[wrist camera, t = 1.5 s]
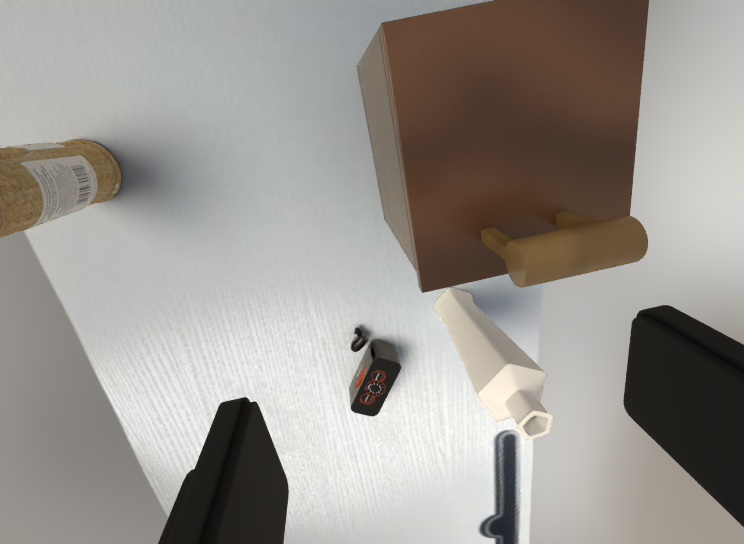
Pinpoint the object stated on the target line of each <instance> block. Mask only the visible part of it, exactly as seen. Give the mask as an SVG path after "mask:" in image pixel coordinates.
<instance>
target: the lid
mask: <svg viewBox="0 0 744 544" xmlns="http://www.w3.org/2000/svg"><path fill="white" fill-rule="evenodd" d="M648 5H649V0H493V1H488V2H483V3H478V4H473V5H468V6H463V7H458V8H453V9H448V10H443V11H438V12H433V13H428V14H423V15H418V16H413V17H408V18H403V19H398V20H393V21H388V22H383V23H381V25H380V27H379V33H380V39H381V46H382V52H383V59H384V65H385V72H386V78H387V84H388V91H389V97H390V104H391V110H392V117H393V123H394V130H395V136H396V142H397V149H398V155H399V162H400V168H401V175H402V181H403V188H404V194H405V200H406V207H407V213H408V220H409V226H410V233H411V239H412V246H413V252H414V258H415V265H416V271H417V278H418V284H419V288H420V290H421V291H422V293H424V292H428V291H433V290H437V289H442V288H446V287H451V286H455V285H459V284H464V283H468V282H473V281H477V280H482V279H486V278H490V277H495V276H499V275H504V274H508V273H509V276H510V278H511V280H512V281H513V283H514V284H515V285H516V286H518V287H521V288H523V287H528V286H532V285H536V284H541V283H545V282H550V281H554V280H558V279H563V278H567V277H571V276H576V275H580V274H585V273H589V272H593V271H598V270H602V269H607V268H611V267H616V266H620V265H624V264H629V263H633V262H637V261H639V260H640V259H642V258H643V256H644V255H645V254H646V251H647V247H648V239H647V234H646V231H645V229H644V227H643V225H642V224H641V223H640V222H639V221H638V220H637V219H636V218H634V217H631V216H630V206H631V196H632V184H633V173H634V162H635V151H636V139H637V129H638V117H639V105H640V95H641V83H642V71H643V61H644V50H645V39H646V27H647V16H648Z"/></svg>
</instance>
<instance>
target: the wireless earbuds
mask: <svg viewBox="0 0 744 544" xmlns="http://www.w3.org/2000/svg"><path fill="white" fill-rule="evenodd" d="M354 334H357V337H356V338H355V339H354V340H353V341H352V343H351V350H352V351H354V352H357V351H359V350H360V349H361V348H362V347H363V346H364V345H365V344H366V343H367V342H368V340H369V338H368V336H367V335H366V334H365V333H363V330H361V329H360V328H356V329H355V332H354ZM400 370H401V365H400V362H399V358H398V355H397V352H396V349H395V347H394V346H392V345H389V344H386V343H383V342H379V341H372V342H370V344H369V346H368V348H367V350H366V352H365V354H364V356H363V359H362V361H361V363H360V365H359V367H358V369H357V372H356V374H355V376H354V378H353V380H352V382H351V384H350V387H349V392H350V404H351V410H352V411H353V412H355V413H359V414H363V415H367V416H375V415H377V414H378V413H379V411H380V409H381V407H382V405H383V403H384V401H385V399H386V397H387V395H388V393H389V391H390V389H391V388H392V386H393V384H394V382H395V380H396V378H397V376H398V374H399V372H400Z"/></svg>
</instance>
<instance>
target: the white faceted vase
mask: <svg viewBox="0 0 744 544" xmlns="http://www.w3.org/2000/svg"><path fill="white" fill-rule="evenodd" d="M432 307H433V309H434V310H435V312H436V313H437V315H438V316H439V317H440V319H441V320H442V322H443V323H444V324H446V327H447V329H448V331H449V333H450V335H451V338H452V340H453V342H454V344H455V347H456V349H457V351H458V353H459V356H460V358H461V360H462V362H463V364H464V367H465V369H466V371H467V373H468V376H469V378H470V380H471V382H472V385H473V387H474V389H475V391H476V393H477V396H478V398H479V399H480V401H481V402H482V403H483V405H484V406H485V407H486V409H487V410H488V411H489V413H490V414H491V415H492V417H493V418H494V419H495V420H496V421H502V420H505V419H508V418H511V417H513V418H514V420H515V421H516V423H517V429H518V430H519V432H520V433H521V434H522V436H523V437H524V438H525V439H526V440H529V439H533V438H536V437H539V436H542V435H545V434H547V433H548V432H549V431H550V428H551V424H552V420H553V415H552V414H550V413H547V411H545V409H544V407H543V406H542V405H541V404H540V400H541V396H542V392H543V388H544V384H545V380H546V373H545V372H544V371H543V370H542V369H541V368H540V367H539V366H538V365H537V364H536V363H535V362H534V361H533V360H532V359H531V358H530V357H529V356H528V355H527V354H526V353H525V352H524V351H523V350H521V349H520V348H519V347H518V346H517V345H516V344H515V343H514V342H513V341H512V340H511V339H510V338H509V337H508V336H507V335H506V334H505V333H504V332H503V331H502V330H501V329H500V328H499V327H498V326H497V325H496V324H495V323H494V322H492V321H491V320H490V319H489V318H488V317H487V316H486V315H485V314H484V313H483V312H482V311H481V310H480V309H479V308H478V307H477V306H476V305H475V304H474V301H473V297H472V294H471V293H469V292H466V291H462V290H459V289H455V288H452V287H449V288H447V289H446V290H445V292H444V293H443V294H442V295H441V296H440V297H439V298H438V300H437V301H436V302H435V303H434V304H433V306H432Z"/></svg>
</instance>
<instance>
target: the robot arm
mask: <svg viewBox="0 0 744 544" xmlns="http://www.w3.org/2000/svg"><path fill="white" fill-rule="evenodd" d="M624 407H625V409H626V412H627V413H628V415H629V416H630V417H631V418H632V419H633V420H634V421H635V422H636V423H637V424H638V425H639V426H640V427H641V428H642V429H643V430H644V431H645V432H646V433H647V434H648V435H649V436H651V437H652V438H653V439H654V440H655V441H656V442H657V443H658V444H659V445H660V446H661V447H662V448H663V449H664V450H665V451H666V452H667V453H668V454H669V455H670V456H671V457H672V458H673V459H674V460H675V461H676V462H677V463H678V464H679V465H680V466H681V467H682V468H684V470H685V471H687V473H689V474H690V475H691V476H692V477H693V478H694V479H695V480H696V481H697V482H698V483H699V484H700V485H701V486H702V487H703V488H704V489H705V490H706V491H707V492H708V493H709V494H710V495H711V496H712V497H713V498H714V499H716V501H717V502H718V503H720V504H721V505H722V506H723V507H724V508H725V509H726V510H727V511H728V512H729V513H730V514H731V515H732V516H733V517H734V518H735V519H736V520H737V521H738V522H739V523H740V524H741V525H742V526H743V527H744V345H743V344H741V343H739V342H737V341H735V340H734V339H732V338H730V337H728V336H726V335H724V334H722V333H720V332H718V331H717V330H714V329H713V328H711V327H709V326H707V325H705V324H704V323H701V322H700V321H698V320H696V319H694V318H692V317H690V316H688V315H687V314H685V313H683V312H681V311H679V310H677V309H675V308H673V307H671V306H668V305H662V306H658V307H653V308H649V309H645V310H641V311H639V313H638V314H637V317H636V318H634V320H633V321H632V327H631V337H630V346H629V355H628V364H627V373H626V383H625V393H624ZM288 493H289V491H288V482H287V478H286V475H285V473H284V470H283V468H282V465H281V462H280V460H279V457H278V455H277V452H276V449H275V447H274V444H273V442H272V439H271V436H270V434H269V431H268V429H267V426H266V424H265V421H264V418H263V416H262V413H261V411H260V408H259V406H258V404H257V402H250V401H249V399H248V398H246V397H244V398H239V399H235V400H230V401H226V402H222V403H221V404H220V405H219V407H218V410H217V413H216V415H215V418H214V420H213V423H212V425H211V428H210V431H209V433H208V436H207V438H206V441H205V443H204V446H203V449H202V451H201V454H200V456H199V459H198V462H197V464H196V467H195V469H193V470H191V471H190V472H189V473H188V474H187V476H186V477H185V479H184V481H183V484H182V486H181V489H180V491H179V493H178V496H177V498H176V501H175V503H174V506H173V508H172V511H171V513H170V516H169V518H168V521H167V523H166V525H165V528H164V530H163V533H162V536H161V538H160V540H159V543H158V544H283V541H284V532H285V523H286V514H287V504H288Z"/></svg>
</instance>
